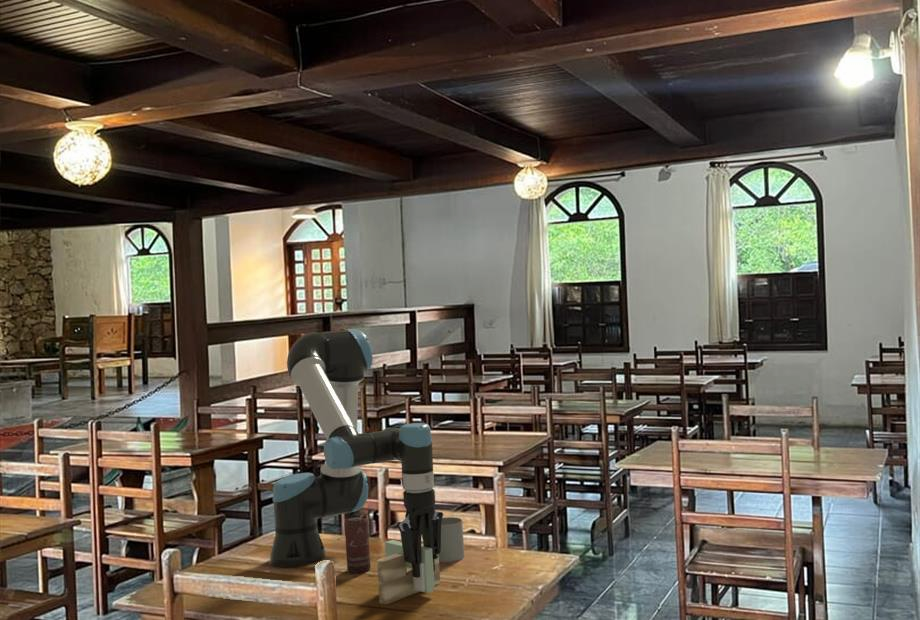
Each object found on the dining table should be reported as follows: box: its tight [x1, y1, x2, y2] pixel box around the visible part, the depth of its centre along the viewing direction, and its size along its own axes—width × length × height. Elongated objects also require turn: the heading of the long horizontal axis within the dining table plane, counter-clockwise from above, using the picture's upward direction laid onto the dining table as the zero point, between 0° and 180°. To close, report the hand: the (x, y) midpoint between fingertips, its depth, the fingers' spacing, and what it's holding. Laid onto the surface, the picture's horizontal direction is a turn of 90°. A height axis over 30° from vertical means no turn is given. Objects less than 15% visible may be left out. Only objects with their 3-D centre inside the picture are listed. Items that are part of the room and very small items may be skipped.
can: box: [344, 514, 371, 575], centre depth 225 cm, size 6×6×14 cm
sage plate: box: [384, 539, 435, 594], centre depth 204 cm, size 14×2×10 cm, turn 47°
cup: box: [439, 516, 465, 563], centre depth 231 cm, size 8×8×10 cm
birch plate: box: [376, 544, 441, 605], centre depth 204 cm, size 2×18×10 cm, turn 137°
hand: (424, 588), depth 201 cm, fingers closed on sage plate, 2 cm apart
